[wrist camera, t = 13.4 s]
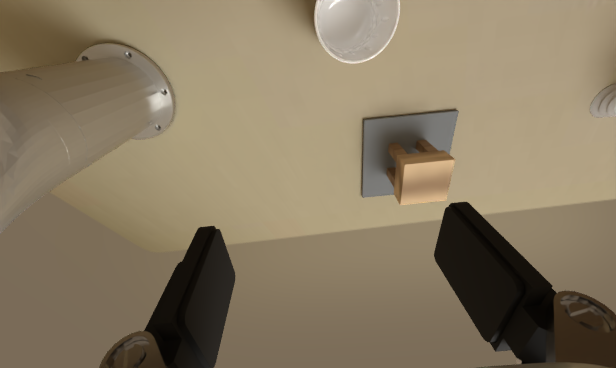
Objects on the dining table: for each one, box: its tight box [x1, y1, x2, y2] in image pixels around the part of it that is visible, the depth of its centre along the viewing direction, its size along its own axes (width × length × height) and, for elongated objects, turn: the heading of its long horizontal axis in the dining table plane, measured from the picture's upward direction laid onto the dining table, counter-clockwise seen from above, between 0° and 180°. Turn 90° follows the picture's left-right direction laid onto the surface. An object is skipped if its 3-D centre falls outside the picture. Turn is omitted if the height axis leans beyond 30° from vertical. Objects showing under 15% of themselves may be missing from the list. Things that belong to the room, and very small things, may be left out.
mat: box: [362, 110, 459, 198], centre depth 42 cm, size 14×14×1 cm
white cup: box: [314, 0, 400, 63], centre depth 28 cm, size 8×8×10 cm
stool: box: [387, 140, 455, 205], centre depth 38 cm, size 6×6×8 cm
